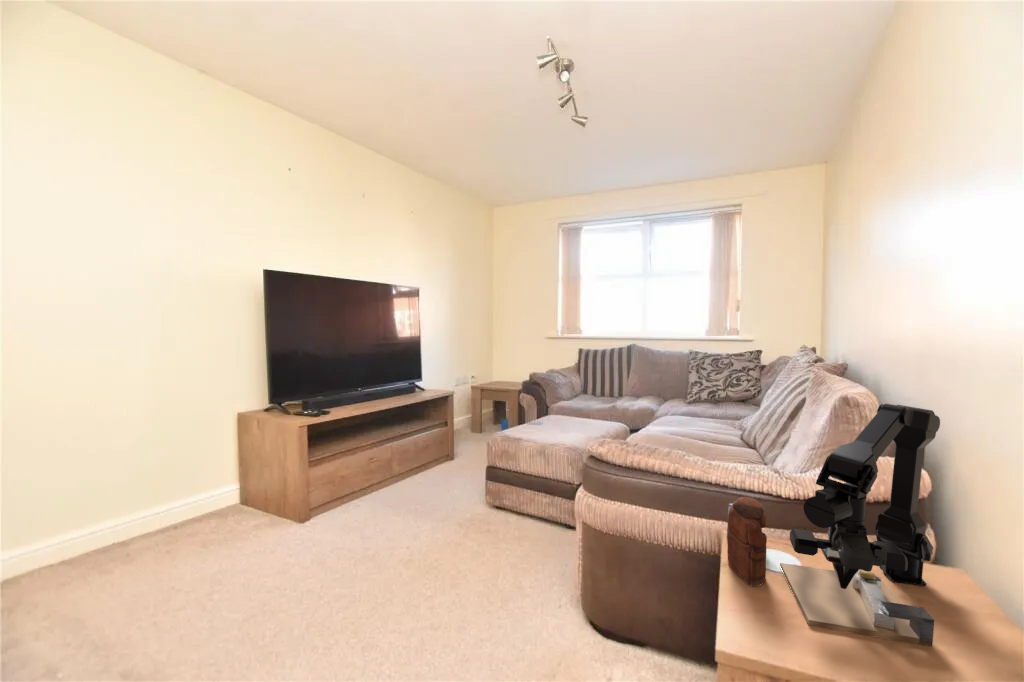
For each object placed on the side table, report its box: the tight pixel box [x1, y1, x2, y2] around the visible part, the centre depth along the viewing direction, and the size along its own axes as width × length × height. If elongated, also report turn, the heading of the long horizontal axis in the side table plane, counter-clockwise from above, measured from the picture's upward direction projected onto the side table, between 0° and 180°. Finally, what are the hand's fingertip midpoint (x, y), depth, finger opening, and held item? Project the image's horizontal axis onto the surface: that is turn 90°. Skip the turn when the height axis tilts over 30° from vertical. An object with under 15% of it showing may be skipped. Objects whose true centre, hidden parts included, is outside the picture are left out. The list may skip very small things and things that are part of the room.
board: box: [779, 562, 934, 648], centre depth 96 cm, size 20×20×5 cm
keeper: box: [880, 601, 935, 648], centre depth 86 cm, size 7×4×5 cm, turn 73°
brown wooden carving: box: [726, 496, 768, 587], centre depth 106 cm, size 12×6×18 cm, turn 4°
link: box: [852, 570, 894, 630], centre depth 93 cm, size 15×5×3 cm, turn 154°
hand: (842, 587), depth 93 cm, fingers closed
